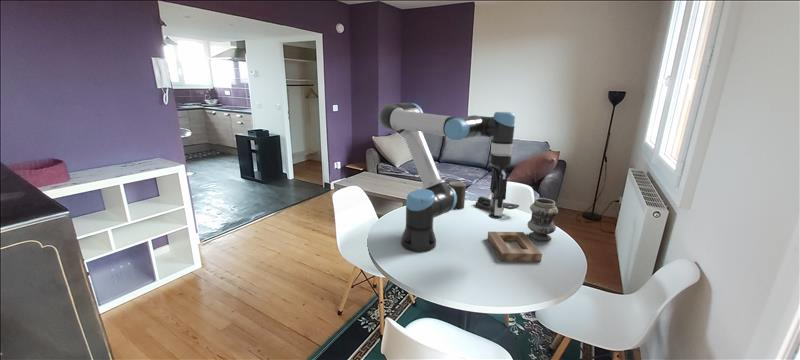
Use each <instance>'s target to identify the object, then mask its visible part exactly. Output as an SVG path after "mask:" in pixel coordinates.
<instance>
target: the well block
mask: <svg viewBox="0 0 800 360" xmlns="http://www.w3.org/2000/svg"><path fill="white" fill-rule="evenodd" d="M487 240H488V242H489V243H490V245H491V247H492V248H493V250H494V251H495V253H496V255H497V257H498V258H499V260H500V262H537V263H538V262H542V257H543V253H542V252H541V251H540V249H538V247H537V246H536V245H535V244H534V243H533V242H532V241H531V240H532V239H531V238H530V237H529V236H527V234H525V233H524V231H488V232H487Z"/></svg>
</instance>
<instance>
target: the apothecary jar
mask: <svg viewBox="0 0 800 360" xmlns="http://www.w3.org/2000/svg"><path fill="white" fill-rule="evenodd" d="M529 210H530V211H531V217H530V220H529V221H528V222H527V223H526V225H527V228H528V229H529V230H530V231H531V232H530V233H528V238H529V239H531V238H532V239H531V240H533V239H534V240H533V241H535V240H536V241H535V242H539V241H541V242H542V243H548V242H547V241H549V242H551V241H552V237H551V236H550V234H553V233H554V232H555V231H556V229H557V227H556V225H555V223H554V220H555V216H557V215H558V213H559V209H558V207H557V206H556V201H555V200H552V199H550V198H545V197H539V198H538V197H537V198H535V199H534V201H533V203H531V204H530V206H529ZM550 240H551V241H550ZM541 242H540V243H541Z"/></svg>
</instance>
